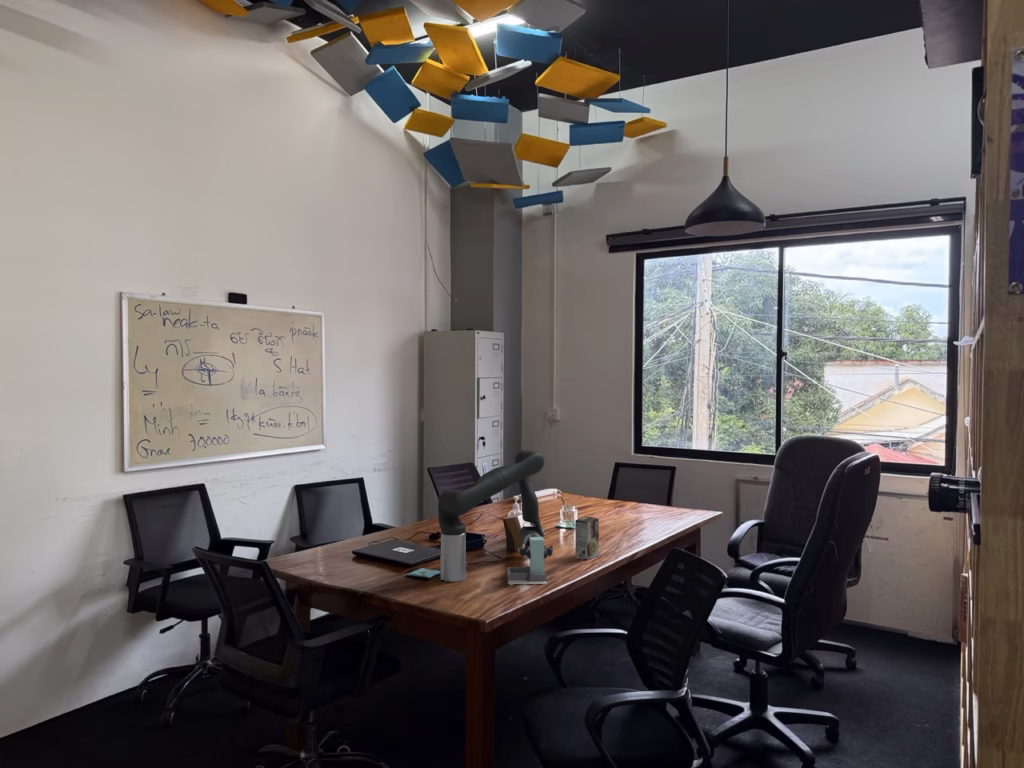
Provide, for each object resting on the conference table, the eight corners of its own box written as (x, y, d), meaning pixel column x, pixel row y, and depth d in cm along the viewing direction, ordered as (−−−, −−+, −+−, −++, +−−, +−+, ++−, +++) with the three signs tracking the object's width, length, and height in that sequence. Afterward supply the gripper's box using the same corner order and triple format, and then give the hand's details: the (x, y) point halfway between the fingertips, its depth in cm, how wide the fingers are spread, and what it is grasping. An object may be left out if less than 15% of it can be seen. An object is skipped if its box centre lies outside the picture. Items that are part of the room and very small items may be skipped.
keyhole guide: (508, 584, 241) (508, 576, 241) (507, 572, 256) (507, 565, 256) (546, 584, 241) (546, 576, 241) (543, 572, 256) (543, 564, 256)
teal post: (530, 577, 246) (530, 540, 246) (529, 573, 251) (529, 536, 251) (544, 577, 246) (544, 540, 246) (542, 573, 251) (542, 536, 251)
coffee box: (586, 553, 284) (586, 516, 284) (599, 556, 280) (599, 518, 280) (574, 557, 277) (574, 519, 277) (587, 560, 273) (587, 521, 273)
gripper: (516, 535, 263) (518, 546, 246) (552, 535, 263) (556, 546, 246) (516, 554, 263) (518, 566, 246) (551, 553, 263) (556, 566, 246)
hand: (537, 556), depth 246 cm, fingers closed on teal post, 5 cm apart
